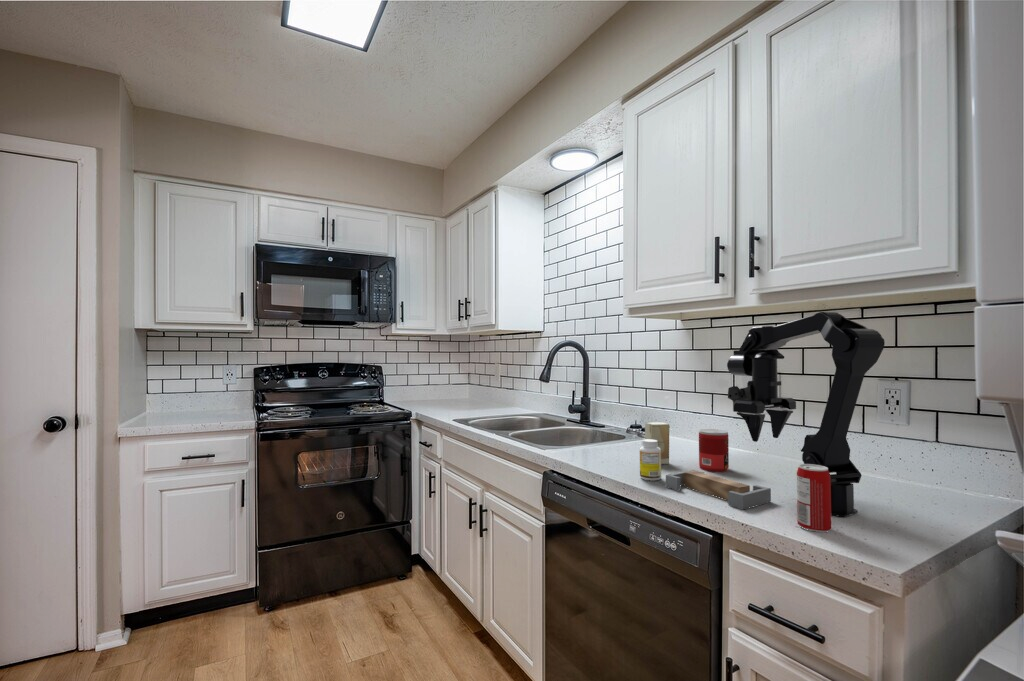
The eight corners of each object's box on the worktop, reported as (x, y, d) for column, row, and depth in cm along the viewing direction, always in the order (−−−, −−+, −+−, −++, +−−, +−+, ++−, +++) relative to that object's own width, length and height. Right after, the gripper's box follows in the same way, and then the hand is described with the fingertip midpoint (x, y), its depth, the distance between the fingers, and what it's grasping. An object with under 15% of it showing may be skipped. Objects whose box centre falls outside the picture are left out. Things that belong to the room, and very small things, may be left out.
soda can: (836, 529, 94) (835, 466, 94) (823, 535, 91) (822, 470, 91) (805, 521, 99) (804, 460, 99) (792, 527, 95) (791, 464, 96)
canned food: (731, 472, 139) (731, 433, 139) (701, 471, 140) (701, 432, 141) (725, 466, 146) (725, 429, 146) (697, 465, 148) (696, 428, 148)
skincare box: (651, 465, 148) (651, 424, 148) (644, 462, 152) (643, 422, 153) (670, 464, 150) (670, 423, 150) (662, 461, 154) (662, 421, 154)
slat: (750, 503, 111) (749, 485, 111) (739, 505, 110) (739, 487, 110) (694, 486, 126) (694, 470, 126) (684, 488, 124) (684, 472, 124)
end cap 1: (665, 487, 124) (665, 475, 124) (693, 481, 129) (692, 469, 129) (677, 490, 121) (677, 478, 121) (704, 484, 126) (704, 472, 126)
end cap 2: (770, 501, 111) (770, 488, 112) (743, 509, 106) (742, 495, 106) (756, 497, 114) (756, 484, 115) (728, 505, 109) (728, 491, 109)
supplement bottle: (646, 474, 136) (646, 437, 137) (665, 478, 132) (664, 440, 132) (635, 478, 132) (635, 440, 133) (654, 482, 128) (653, 443, 129)
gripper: (754, 374, 136) (755, 432, 135) (713, 376, 125) (714, 438, 125) (796, 376, 126) (797, 437, 126) (755, 378, 116) (756, 445, 116)
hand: (765, 439), depth 123 cm, fingers open, 9 cm apart
